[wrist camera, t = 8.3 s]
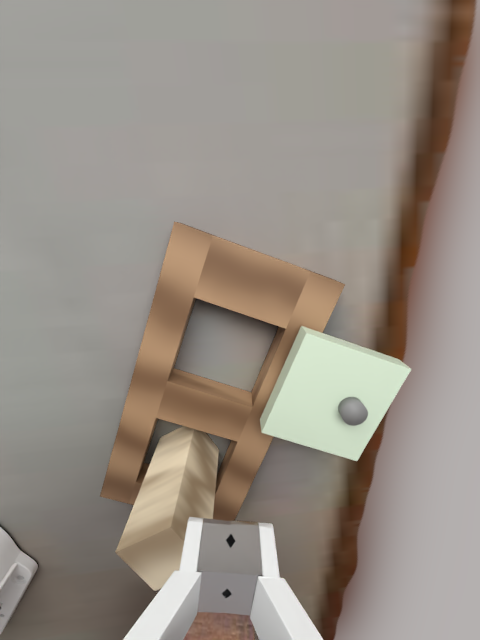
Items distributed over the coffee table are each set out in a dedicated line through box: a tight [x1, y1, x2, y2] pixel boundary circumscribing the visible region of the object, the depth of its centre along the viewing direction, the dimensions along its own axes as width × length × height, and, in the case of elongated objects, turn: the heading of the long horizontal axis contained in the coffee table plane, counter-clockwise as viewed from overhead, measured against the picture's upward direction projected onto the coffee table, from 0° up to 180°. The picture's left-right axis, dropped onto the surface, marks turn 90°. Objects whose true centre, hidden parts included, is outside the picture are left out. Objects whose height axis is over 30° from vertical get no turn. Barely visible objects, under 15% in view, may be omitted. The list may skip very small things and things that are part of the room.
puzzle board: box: [100, 222, 345, 521], centre depth 26 cm, size 28×14×2 cm, turn 160°
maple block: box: [115, 426, 219, 591], centre depth 24 cm, size 4×4×11 cm
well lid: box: [260, 326, 411, 461], centre depth 23 cm, size 10×9×3 cm
